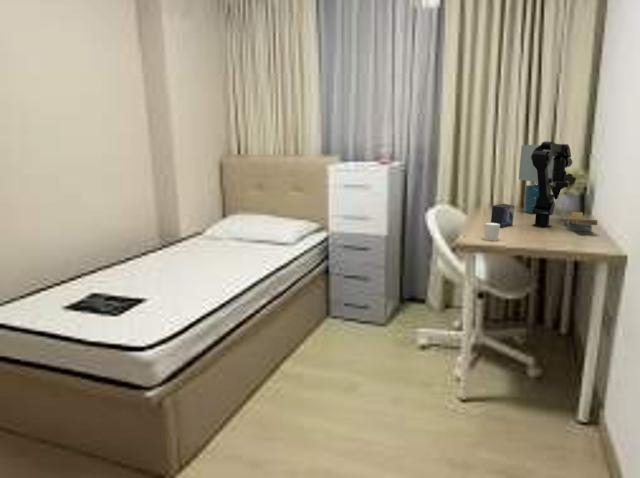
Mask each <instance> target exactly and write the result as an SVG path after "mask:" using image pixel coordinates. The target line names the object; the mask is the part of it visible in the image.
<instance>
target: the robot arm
mask: <svg viewBox="0 0 640 478" xmlns="http://www.w3.org/2000/svg"><path fill="white" fill-rule="evenodd" d="M539 145H540V146H538V147H537V148H535V150H534V151H533V153H532V155H531V160H532V163H533V166H534V167H535V168H536V169H537V177H538V189H539V197H538V198H537V200H536V203H535V205H534V207H533V210H532V212H533V213H532V214H533V215H534V214H535V219H534V223H533V224H532V225H531V226H533V227H538V228H551V227H552V225H551V224H550V216H552V215H554V211H555V206H556V203H555V200H558V198H559V196H560V194H561V190H563V189H564V188H569V183H570V184H573V185H575V182H576V180H577V179H578V178H577V177H574V176H573V174H572V173H567V171H566V168H570V167H571V166H572V165H573V160H572V158H571V157H572V155H571V148H570V146H569V144H567V143H556V142H554V141H548V140H547V141H542V142H541V143H540V144H539ZM543 150H548V151H543ZM549 151H550V152H549ZM553 155H554V158H553V160H554V162H553V170H552V178H549V179H548V165H549V164H550V162H551V159H552V157H553ZM550 189H551V193H552V194H551V193H550Z"/></svg>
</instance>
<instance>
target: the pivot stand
mask: <svg viewBox="0 0 640 478" xmlns="http://www.w3.org/2000/svg"><path fill="white" fill-rule="evenodd" d="M570 222H571V221H570V220H568V221H567V223H565V226H566V230H567V231H569V232H578V233H577V235H578V236H585V235H593V236H594V233H592V230H593V225H581V224H570ZM586 231H591V232H586Z"/></svg>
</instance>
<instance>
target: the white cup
mask: <svg viewBox="0 0 640 478" xmlns="http://www.w3.org/2000/svg"><path fill="white" fill-rule="evenodd" d="M483 224H484V225H483V230H484V231H483V232H484V235H483V237H484V240H486V241H492V242H493V241H495V242H497V241H498V239H499V233H500V230H501V228H500V224H498V223H491V222H484V223H483Z"/></svg>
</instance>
